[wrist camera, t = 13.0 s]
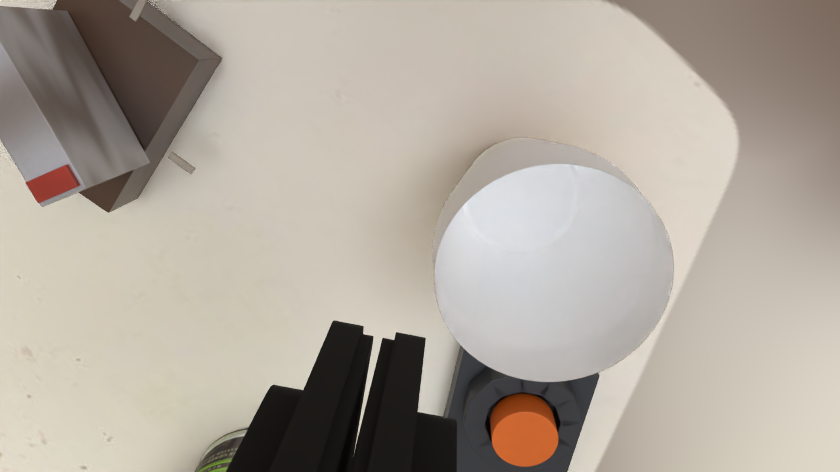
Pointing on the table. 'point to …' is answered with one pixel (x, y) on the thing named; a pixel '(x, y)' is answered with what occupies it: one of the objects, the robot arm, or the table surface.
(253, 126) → the table surface
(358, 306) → the table surface
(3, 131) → the gray box
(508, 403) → the button
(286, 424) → the robot arm
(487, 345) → the cup
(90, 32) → the base
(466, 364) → the button
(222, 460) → the coffee can
